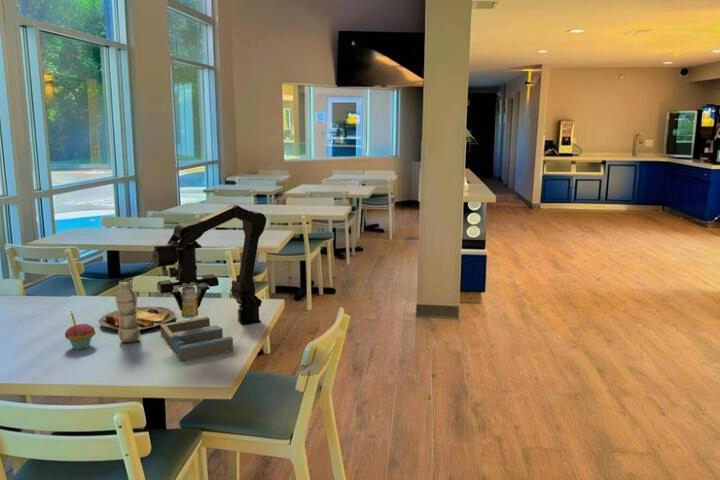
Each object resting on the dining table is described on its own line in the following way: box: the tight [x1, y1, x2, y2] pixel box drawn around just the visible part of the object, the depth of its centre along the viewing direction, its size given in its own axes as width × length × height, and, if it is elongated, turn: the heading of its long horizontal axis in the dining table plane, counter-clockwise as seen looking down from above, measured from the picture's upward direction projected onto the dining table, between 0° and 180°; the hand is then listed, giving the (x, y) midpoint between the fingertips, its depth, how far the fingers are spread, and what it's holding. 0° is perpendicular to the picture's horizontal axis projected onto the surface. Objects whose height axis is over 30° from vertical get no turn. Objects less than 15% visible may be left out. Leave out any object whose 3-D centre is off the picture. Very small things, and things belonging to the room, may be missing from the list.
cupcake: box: [64, 310, 96, 350], centre depth 185 cm, size 9×8×12 cm
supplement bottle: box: [180, 286, 199, 319], centre depth 194 cm, size 5×5×10 cm
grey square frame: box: [159, 316, 234, 362], centre depth 190 cm, size 16×26×5 cm, turn 31°
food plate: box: [98, 306, 176, 332], centre depth 209 cm, size 25×23×4 cm
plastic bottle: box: [114, 279, 141, 343], centre depth 189 cm, size 6×7×20 cm
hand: (189, 308), depth 195 cm, fingers closed on supplement bottle, 5 cm apart
